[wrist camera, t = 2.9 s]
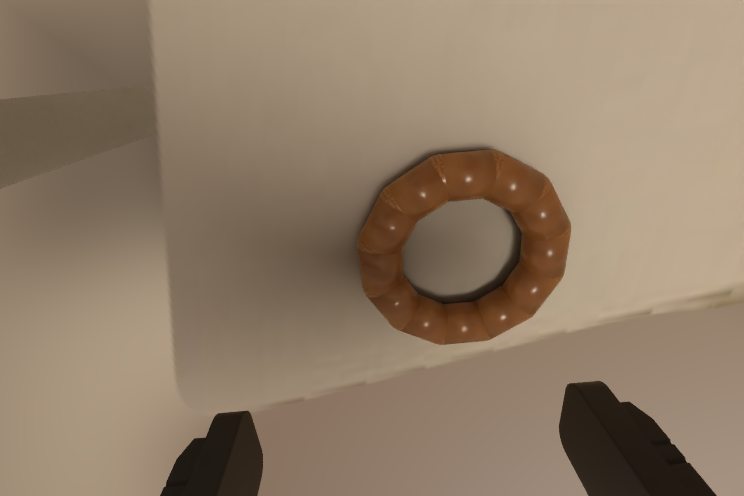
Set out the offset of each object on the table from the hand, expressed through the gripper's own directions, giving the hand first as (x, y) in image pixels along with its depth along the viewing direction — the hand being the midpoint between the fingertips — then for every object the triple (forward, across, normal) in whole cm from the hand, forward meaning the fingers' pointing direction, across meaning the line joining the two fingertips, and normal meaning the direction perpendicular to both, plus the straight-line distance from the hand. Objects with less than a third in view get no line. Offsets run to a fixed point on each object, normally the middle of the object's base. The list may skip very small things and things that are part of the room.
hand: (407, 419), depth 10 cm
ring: (+9, -4, 0) cm, 10 cm away
